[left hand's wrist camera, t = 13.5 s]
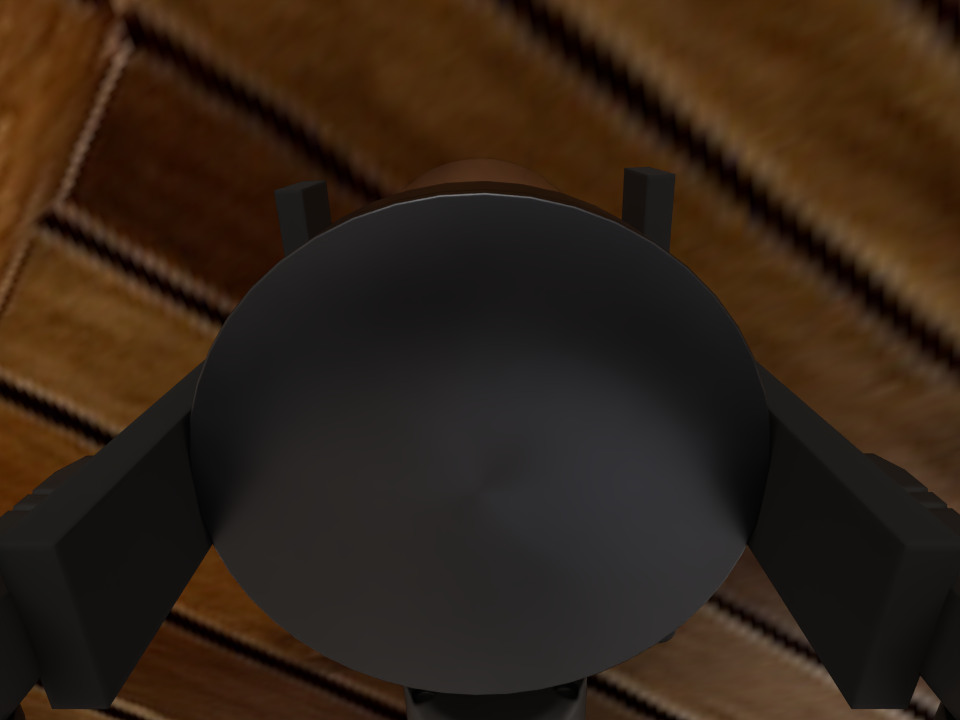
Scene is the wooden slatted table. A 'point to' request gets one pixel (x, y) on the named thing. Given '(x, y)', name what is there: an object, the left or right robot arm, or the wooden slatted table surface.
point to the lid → (480, 440)
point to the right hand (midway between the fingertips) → (474, 178)
